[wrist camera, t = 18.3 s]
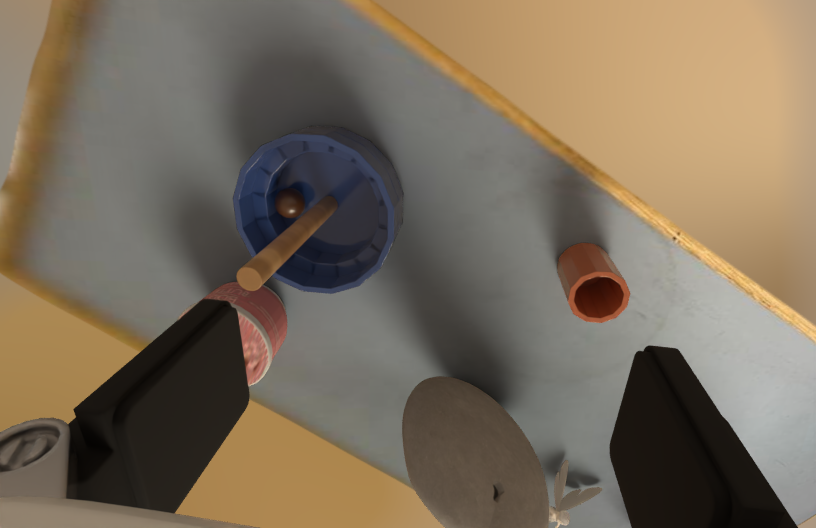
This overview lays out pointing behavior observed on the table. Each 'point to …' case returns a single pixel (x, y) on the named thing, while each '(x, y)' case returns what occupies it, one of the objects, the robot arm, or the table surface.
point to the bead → (289, 203)
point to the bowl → (317, 178)
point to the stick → (284, 245)
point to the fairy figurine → (567, 498)
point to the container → (255, 324)
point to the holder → (592, 283)
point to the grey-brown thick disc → (471, 459)
